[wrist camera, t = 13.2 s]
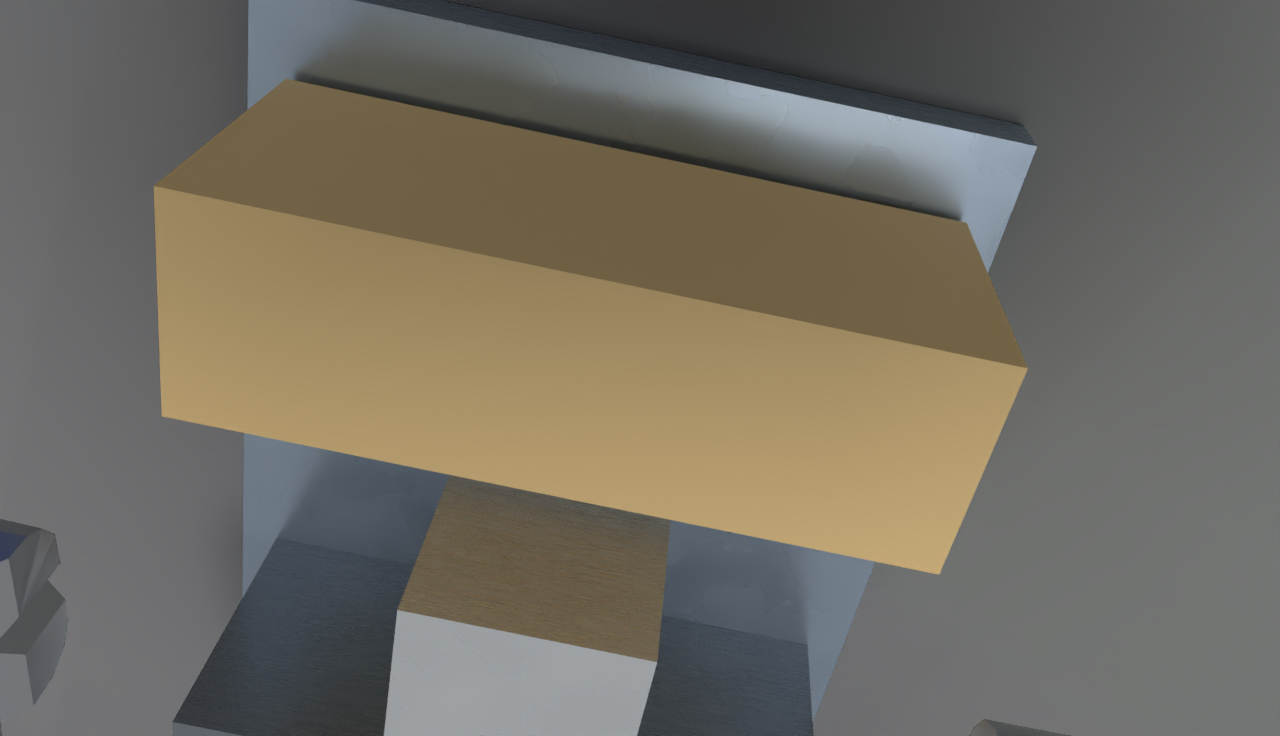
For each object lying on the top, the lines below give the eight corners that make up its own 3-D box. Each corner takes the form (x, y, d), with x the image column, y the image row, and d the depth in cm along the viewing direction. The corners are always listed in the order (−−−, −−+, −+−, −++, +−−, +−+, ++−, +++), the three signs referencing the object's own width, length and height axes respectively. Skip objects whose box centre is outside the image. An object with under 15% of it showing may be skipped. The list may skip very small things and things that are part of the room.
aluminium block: (477, 404, 30) (396, 610, 23) (677, 445, 30) (657, 662, 24) (457, 546, 33) (380, 768, 26) (642, 583, 33) (614, 815, 26)
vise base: (273, -36, 26) (91, 63, 19) (1023, 125, 27) (1126, 283, 20) (257, 703, 39) (144, 932, 32) (766, 803, 40) (770, 1052, 32)
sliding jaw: (285, 78, 26) (153, 186, 20) (966, 222, 26) (1027, 368, 21) (280, 271, 28) (161, 416, 23) (900, 400, 29) (938, 574, 23)
